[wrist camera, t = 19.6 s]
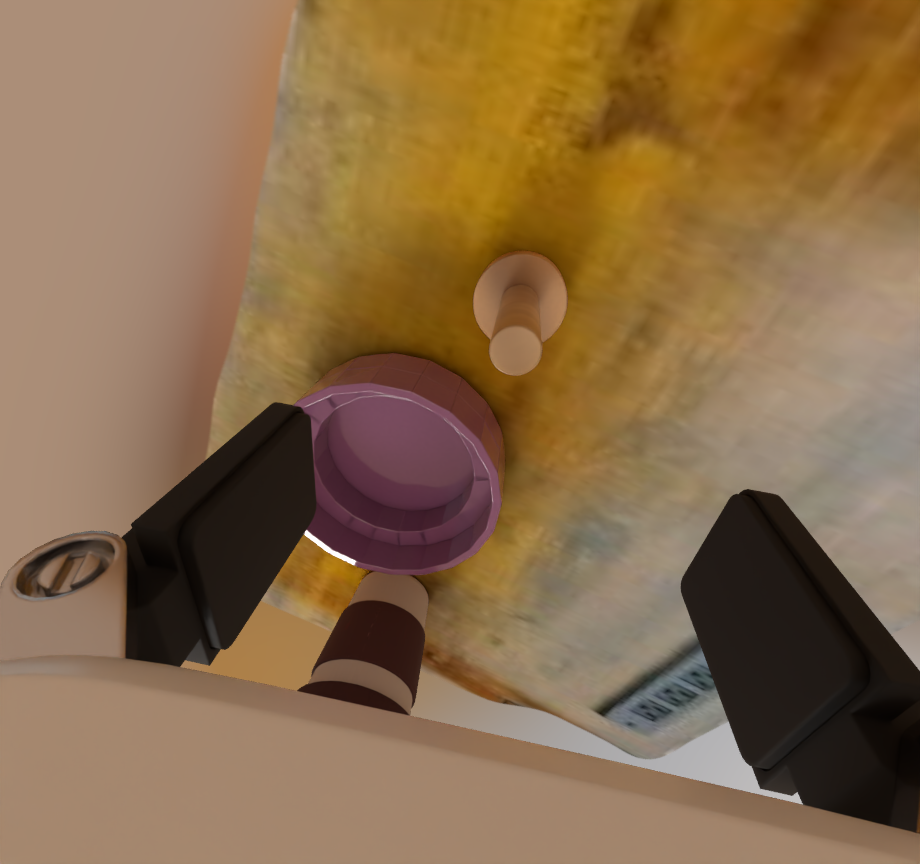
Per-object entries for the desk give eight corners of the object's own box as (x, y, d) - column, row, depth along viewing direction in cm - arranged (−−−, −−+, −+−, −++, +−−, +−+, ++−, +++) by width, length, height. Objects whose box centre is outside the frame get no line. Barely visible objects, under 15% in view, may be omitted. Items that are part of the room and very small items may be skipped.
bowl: (445, 312, 28) (426, 340, 23) (536, 493, 35) (537, 547, 29) (268, 397, 34) (220, 436, 28) (374, 540, 40) (352, 592, 35)
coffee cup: (460, 612, 44) (430, 790, 31) (382, 630, 47) (327, 797, 34) (409, 546, 40) (351, 718, 27) (329, 571, 43) (245, 734, 30)
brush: (546, 230, 25) (557, 258, 15) (575, 315, 27) (600, 385, 18) (464, 269, 27) (428, 317, 17) (497, 346, 29) (481, 425, 19)
